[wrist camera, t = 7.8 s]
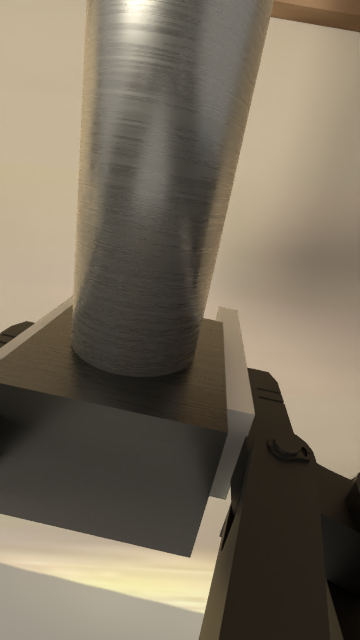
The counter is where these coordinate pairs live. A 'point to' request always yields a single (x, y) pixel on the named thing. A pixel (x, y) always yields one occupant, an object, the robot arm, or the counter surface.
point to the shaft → (138, 283)
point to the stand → (320, 12)
